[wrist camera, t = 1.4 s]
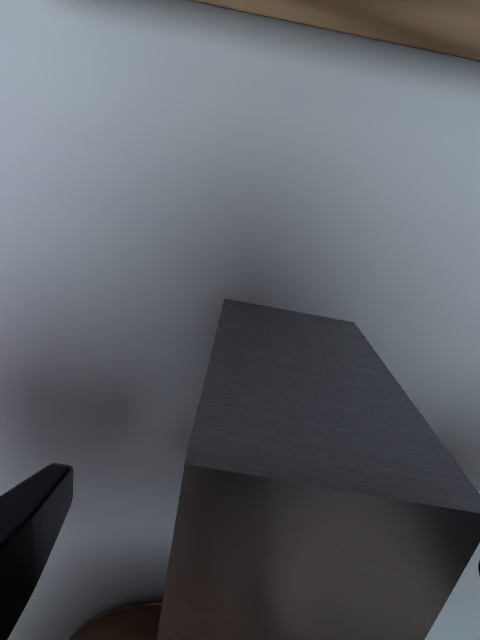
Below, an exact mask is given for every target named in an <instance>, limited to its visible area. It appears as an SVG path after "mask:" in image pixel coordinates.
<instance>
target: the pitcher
mask: <svg viewBox="0 0 480 640" xmlns="http://www.w3.org/2000/svg"><path fill="white" fill-rule="evenodd" d="M161 609H162V603H151V604H141V605H134V606H129V607H123V608H119V609H116V610H112V611H109V612H107V613H105V614H102V615H101V616H98V617H97V618H95V619H93V620H91V621H89V622H88V623H86V624H85V625H83V626H82V627H81V628H80V629H78V631H77V632H75V633H74V634H73V635H72V636H71V638H70V639H69V640H157V634H158V628H159V621H160V615H161Z"/></svg>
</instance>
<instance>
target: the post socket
mask: <svg viewBox="0 0 480 640" xmlns="http://www.w3.org/2000/svg"><path fill="white" fill-rule="evenodd" d="M193 1H198V2H202V3H207V4H212V5H217V6H221V7H226V8H231V9H236V10H240V11H245V12H250V13H255V14H260V15H264V16H269V17H274V18H279V19H283V20H288V21H293V22H298V23H302V24H307V25H312V26H317V27H321V28H326V29H331V30H336V31H341V32H345V33H350V34H355V35H360V36H364V37H369V38H374V39H379V40H383V41H388V42H393V43H398V44H402V45H407V46H412V47H417V48H421V49H426V50H431V51H436V52H441V53H445V54H450V55H455V56H460V57H464V58H469V59H474V60H479V61H480V0H193Z"/></svg>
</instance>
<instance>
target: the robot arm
mask: <svg viewBox="0 0 480 640" xmlns="http://www.w3.org/2000/svg"><path fill="white" fill-rule="evenodd" d="M72 498H73V468H72V466H70V465H64V464H58V463H52V464H50V465H48V466H46V467H45V468H43V469H42V470H40V471H39V472H37V473H35V474H34V475H32V476H31V477H29V478H28V479H26V480H25V481H23V482H21V483H20V484H18V485H17V486H15V487H14V488H12V489H11V490H9V491H7V492H6V493H4V494H3V495H1V496H0V640H7V639H8V637H9V635H10V634H11V632H12V630H13V628H14V626H15V624H16V623H17V621H18V619H19V617H20V615H21V613H22V612H23V610H24V608H25V606H26V604H27V602H28V601H29V599H30V597H31V595H32V593H33V591H34V589H35V587H36V585H37V582H38V580H39V578H40V576H41V573H42V571H43V569H44V567H45V564H46V562H47V560H48V557H49V555H50V553H51V550H52V548H53V546H54V543H55V541H56V539H57V536H58V534H59V532H60V529H61V527H62V525H63V522H64V520H65V518H66V515H67V513H68V511H69V508H70V506H71V502H72ZM478 570H479V575H480V561H479V565H478Z"/></svg>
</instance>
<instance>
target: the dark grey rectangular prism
mask: <svg viewBox="0 0 480 640" xmlns="http://www.w3.org/2000/svg"><path fill="white" fill-rule="evenodd" d="M479 543H480V495H479V494H478V492H477V491H476V489H475V488H474V487H473V485H472V484H471V483H470V481H469V480H468V478H467V477H466V476H465V474H464V473H463V472H462V470H461V469H460V467H459V466H458V465H457V463H456V462H455V461H454V459H453V458H452V456H451V455H450V454H449V452H448V451H447V450H446V448H445V447H444V445H443V444H442V443H441V441H440V440H439V439H438V437H437V436H436V434H435V433H434V432H433V430H432V429H431V428H430V426H429V425H428V423H427V422H426V421H425V419H424V418H423V417H422V415H421V414H420V412H419V411H418V410H417V408H416V407H415V406H414V404H413V403H412V401H411V400H410V399H409V397H408V396H407V395H406V393H405V392H404V390H403V389H402V388H401V386H400V385H399V384H398V382H397V381H396V379H395V378H394V377H393V375H392V374H391V373H390V371H389V370H388V368H387V367H386V366H385V364H384V363H383V362H382V360H381V359H380V357H379V356H378V355H377V353H376V352H375V351H374V349H373V348H372V347H371V345H370V344H369V342H368V341H367V340H366V338H365V337H364V336H363V334H362V333H361V331H360V330H359V329H358V327H357V326H356V325H355V323H354V322H349V321H343V320H338V319H332V318H327V317H321V316H316V315H310V314H305V313H299V312H294V311H288V310H283V309H277V308H272V307H267V306H261V305H256V304H250V303H245V302H239V301H234V300H228V299H224V303H223V307H222V312H221V316H220V320H219V324H218V328H217V332H216V337H215V341H214V345H213V349H212V353H211V357H210V362H209V366H208V370H207V374H206V378H205V382H204V387H203V391H202V395H201V399H200V403H199V407H198V412H197V416H196V420H195V424H194V428H193V432H192V437H191V441H190V445H189V449H188V453H187V457H186V462H185V467H184V473H183V479H182V485H181V491H180V498H179V504H178V510H177V516H176V522H175V529H174V535H173V541H172V547H171V553H170V559H169V566H168V572H167V578H166V584H165V590H164V597H163V603H162V609H161V615H160V621H159V628H158V634H157V640H424V639H425V638H426V636H427V634H428V632H429V631H430V629H431V627H432V625H433V624H434V622H435V620H436V618H437V617H438V615H439V613H440V611H441V609H442V608H443V606H444V604H445V602H446V601H447V599H448V597H449V595H450V594H451V592H452V590H453V588H454V587H455V585H456V583H457V581H458V580H459V578H460V576H461V574H462V572H463V571H464V569H465V567H466V565H467V564H468V562H469V560H470V558H471V557H472V555H473V553H474V551H475V550H476V548H477V546H478V544H479Z"/></svg>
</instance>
